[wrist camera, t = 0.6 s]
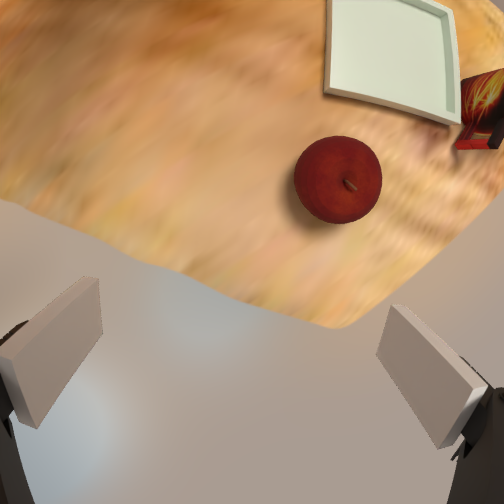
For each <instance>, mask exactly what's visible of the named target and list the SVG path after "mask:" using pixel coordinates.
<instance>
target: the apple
mask: <svg viewBox="0 0 504 504" xmlns="http://www.w3.org/2000/svg"><path fill="white" fill-rule="evenodd" d="M294 184H295V188H296V191H297V194H298V196H299V198H300V200H301V202H302V203H303V205H304V206H305V207H306V208H307V209H308V210H309V211H310V212H311V213H312V214H313V215H314V216H316V217H317V218H319V219H321V220H323V221H325V222H328V223H334V224H345V223H350V222H354V221H356V220H358V219H361V218H362V217H364V216H365V215H366V214H368V213H369V212H370V211H371V209H372V208H373V207H374V205H375V204H376V202H377V200H378V198H379V195H380V192H381V187H382V172H381V167H380V164H379V161H378V159H377V157H376V155H375V153H374V152H373V151H372V150H371V149H370V147H368V146H367V145H366V144H364V143H363V142H361V141H359V140H357V139H354V138H350V137H346V136H332V137H326V138H323V139H320V140H318V141H316V142H314V143H313V144H311V145H310V146H309V147H308V148H307V149H306V150H305V151H304V152H303V153H302V154H301V156H300V158H299V159H298V161H297V164H296V167H295V172H294Z"/></svg>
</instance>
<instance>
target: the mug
mask: <svg viewBox="0 0 504 504" xmlns="http://www.w3.org/2000/svg"><path fill="white" fill-rule="evenodd" d="M460 89H461V119H462V121H463V123H464V124H465V125H466V127H465V128H464V130H463V132H462V134H461V135H460V137H459V139H458V140H457V142H456V143H455V146H456V147H457V149H458V150H466V149H498V148H499V146H500V144H501V142H502V140H503V138H504V68H502V69H498V70H494V71H491V72H487V73H483V74H480V75H476V76H473V77H469V78H466V79H463V80H462V81H461V82H460ZM473 133H474V134H476V135H480V136H488V135H491V136H490V138H489V139H472V140H470V139H471V137H472V135H473Z"/></svg>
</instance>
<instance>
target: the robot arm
mask: <svg viewBox="0 0 504 504" xmlns="http://www.w3.org/2000/svg"><path fill="white" fill-rule="evenodd" d="M102 334H103V330H102V320H101V310H100V297H99V281H98V278H91V277H82V278H81V279H80V280H78V281H77V282H76V283H75V284H73V285H72V286H71V287H70V288H68V289H67V290H66V291H65V292H63V293H62V294H61V295H60V296H58V297H57V298H56V299H55V300H54V301H52V302H51V303H50V304H49V305H47V306H46V307H45V308H44V309H43V310H42V311H40V312H39V313H38V314H37V315H36V316H34V317H33V318H32V319H31V320H30V321H28V320H27V321H25V322H23V323H20V324H18V325H16V326H15V327H14V328H13V329H12V330H11V331H9V333H7V334H6V335H5V336H4V337H3V339H0V504H35V503H34V501H33V497H32V495H31V492H30V489H29V486H28V483H27V480H26V477H25V474H24V470H23V467H22V463H21V460H20V456H19V452H18V448H17V444H16V440H15V436H14V431H13V426H12V423H11V420H10V418H9V415H10V414H11V412H12V411H13V410H14V411H15V413H16V416H17V418H18V420H19V422H21V423H23V424H25V425H28V426H30V427H32V428H35V429H38V427H39V426H40V424H41V422H42V421H43V419H44V418H45V416H46V415H47V413H48V412H49V410H50V409H51V407H52V405H53V404H54V402H55V401H56V399H57V398H58V396H59V395H60V393H61V392H62V390H63V389H64V388H65V386H66V384H67V383H68V382H69V380H70V379H71V377H72V376H73V374H74V373H75V372H76V370H77V369H78V367H79V366H80V364H81V363H82V362H83V360H84V359H85V357H86V356H87V355H88V353H89V352H90V350H91V349H92V348H93V346H94V345H95V343H96V342H97V341H98V339H99V338H100V336H101V335H102ZM376 356H377V357H378V359H379V360H380V362H381V363H382V365H383V366H384V368H385V369H386V370H387V372H388V373H389V375H390V377H391V378H392V379H393V381H394V382H395V384H396V386H397V387H398V389H399V390H400V391H401V393H402V395H403V396H404V398H405V399H406V401H407V402H408V404H409V405H410V407H411V408H412V410H413V411H414V413H415V415H416V416H417V418H418V419H419V421H420V422H421V424H422V425H423V427H424V428H425V430H426V432H427V433H428V435H429V437H430V438H431V440H432V441H433V443H434V445H435V446H436V448H437V449H441V448H445V447H448V446H451V445H453V444H454V443H455V441H456V440H457V438H458V436H459V435H460V434H462V435H463V436H464V437H465V439H464V441H463V442H462V444H461V445H460V446H459V448H458V450H457V451H456V452H455V454H454V455H453V456H452V458H451V460H452V461H453V460H454V459H455V457H456V456H458V455H459V456H458V460H457V465H456V470H455V474H454V479H453V483H452V487H451V490H450V494H449V498H448V501H447V504H504V388H502V387H501V388H496V389H494V388H493V387H492V386H491V385H490V384H489V383H488V382H486V380H485V379H484V378H483V377H482V376H481V375H480V374H479V373H478V372H476V370H475V369H474V368H473V367H470V364H469V363H468V362H467V361H466V360H465V359H464V358H462V357H460V356H459V355H457V354H456V353H455V352H454V351H453V350H452V349H451V348H450V347H449V346H448V345H447V344H446V343H445V342H444V341H443V340H442V339H441V338H440V337H438V335H437V334H435V333H434V332H433V331H432V330H431V329H430V328H429V327H428V326H427V325H426V324H425V323H424V322H423V321H422V320H420V319H419V318H418V317H417V316H416V315H415V314H414V313H413V312H412V311H410V309H408V308H407V307H406V306H405V305H395V304H391V307H390V310H389V314H388V317H387V321H386V324H385V327H384V331H383V334H382V337H381V340H380V343H379V347H378V350H377V353H376Z"/></svg>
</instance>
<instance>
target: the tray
mask: <svg viewBox="0 0 504 504" xmlns="http://www.w3.org/2000/svg"><path fill="white" fill-rule="evenodd" d="M323 93H327V94H333V95H338V96H343V97H348V98H353V99H357V100H362V101H366V102H370V103H375V104H379V105H383V106H387V107H390V108H394V109H398V110H401V111H405V112H408V113H412V114H415V115H418V116H422V117H425V118H428V119H431V120H434V121H437V122H440V123H443V124H446V125H457V124H461V89H460V69H459V56H458V46H457V37H456V29H455V22H454V16H453V10H451V9H449V8H447V7H445V6H443V5H441V4H439V3H437V2H435V1H433V0H327V16H326V49H325V70H324V88H323Z"/></svg>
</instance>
